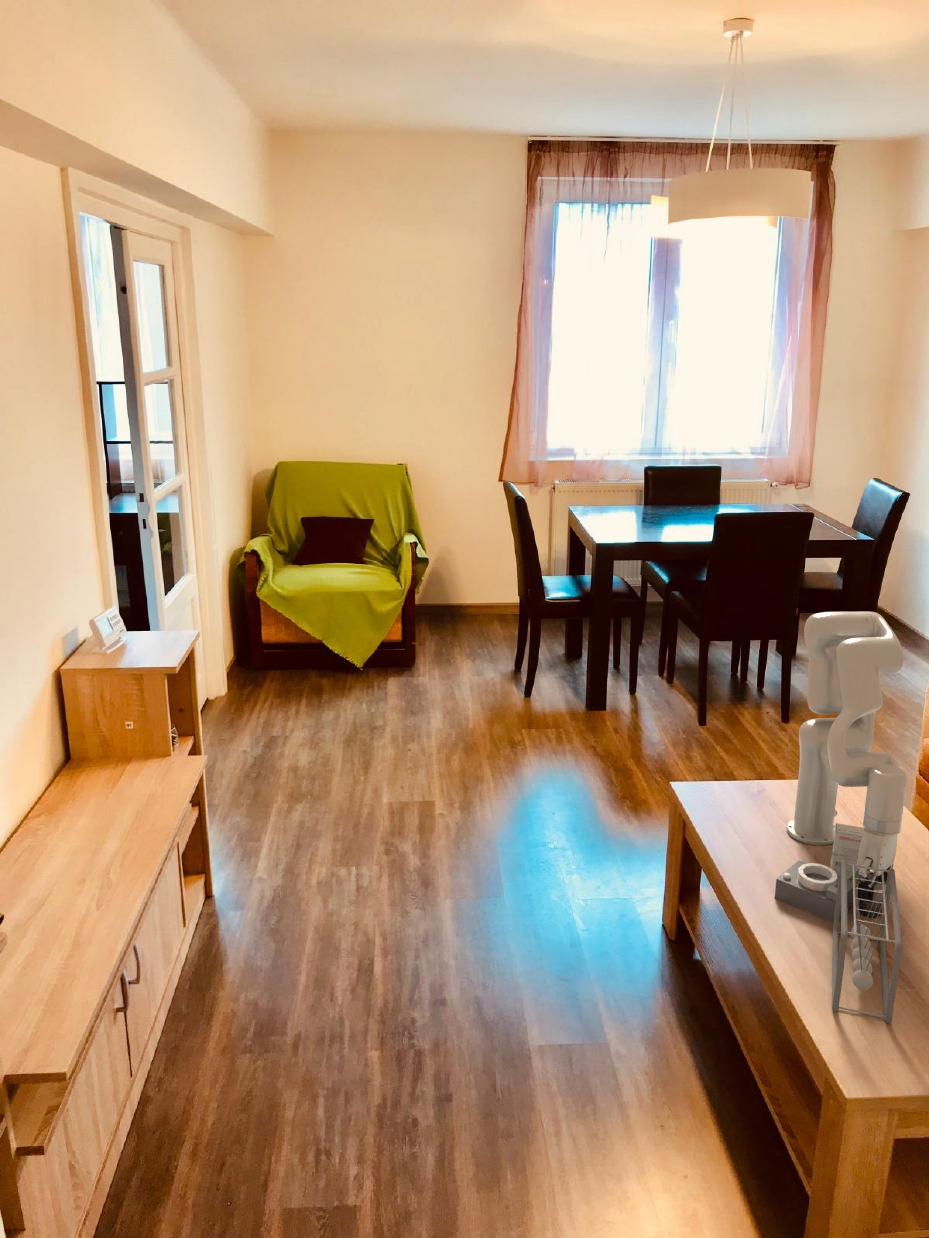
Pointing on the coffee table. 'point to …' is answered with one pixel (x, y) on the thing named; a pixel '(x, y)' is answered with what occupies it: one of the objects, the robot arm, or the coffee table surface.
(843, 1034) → the coffee table surface
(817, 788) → the robot arm
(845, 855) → the ink box
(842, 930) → the newton's cradle
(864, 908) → the lens
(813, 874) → the camera body
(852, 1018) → the coffee table surface
